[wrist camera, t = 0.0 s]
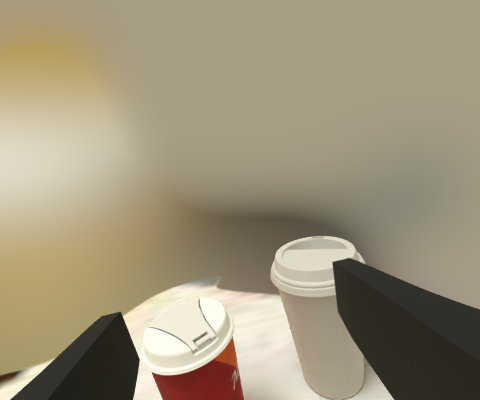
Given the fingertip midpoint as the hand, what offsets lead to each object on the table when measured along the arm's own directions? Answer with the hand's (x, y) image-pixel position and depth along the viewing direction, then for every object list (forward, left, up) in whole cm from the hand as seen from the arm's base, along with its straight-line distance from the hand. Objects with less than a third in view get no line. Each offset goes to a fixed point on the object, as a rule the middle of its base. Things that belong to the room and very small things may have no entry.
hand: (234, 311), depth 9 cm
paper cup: (+12, +5, -22) cm, 25 cm away
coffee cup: (+17, -8, -22) cm, 29 cm away
